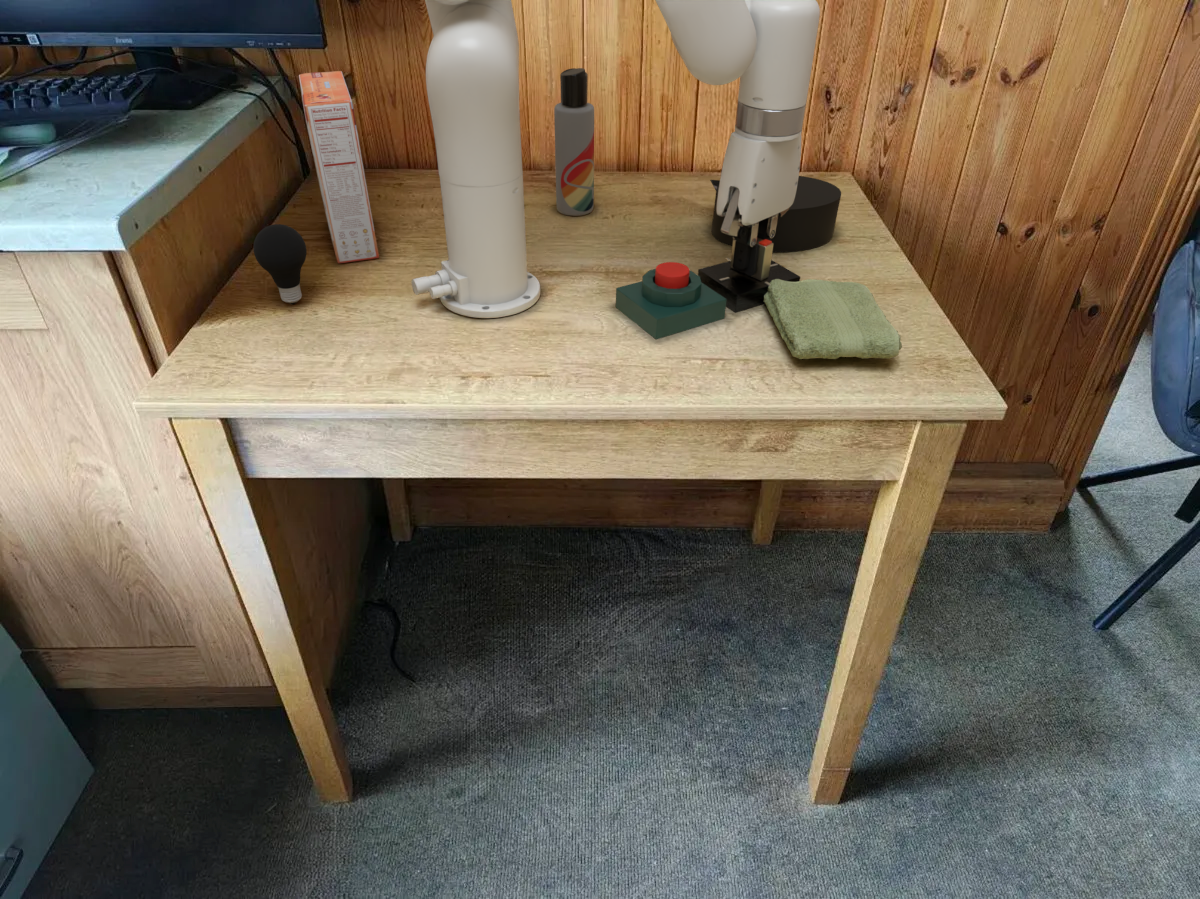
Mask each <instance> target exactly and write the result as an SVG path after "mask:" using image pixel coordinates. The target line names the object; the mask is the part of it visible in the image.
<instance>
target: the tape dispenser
mask: <svg viewBox="0 0 1200 899" xmlns="http://www.w3.org/2000/svg"><path fill="white" fill-rule="evenodd" d="M709 181H710V183H711V184H712V186H713V188H714V190H715V197H714V205H713V214H712V222H711V231H710V232H711V235H712V237H713V238H714V239H715V240H716V241H718V242H720V243H722V244H724V245H726V246H728V247H732V245H733V236H731V235H728V234H725V233H723V232H721V227H722V224H723V221H724V218H725V216H719V215H717V211H716V207H717V197H718V190H719V183H720V179H709ZM841 197H842V191H841V189H840V188H839V187H838V186H837V185H835V184H833V183H831V182H828V181H825V180H822V179H818V178H814V177H809V176H804V175H799V178H798V185H797V190H796V195H795V199H794V202H793V204H792V205H791V206H790V208H789V210H788V211H787V212H786V213H785V214H784V215H783V216H782V217H781V218H780V220H779V222H778V223H777V226H776V233H775V235H774V237H773V238H769V239H771V241H772V243H773V251H772V253H793V252H795V253H797V252H802V251H808V250H812V249H817V248H820V247H822V246H824V245H826V244H828V243H829V242H831V241H832V239H833V237H834V232H835V228H836V227H835V226H836V221H837V216H838V213H839V209H840V208H839V207H840V202H841V199H842V198H841ZM743 227H745V228H746V229H747V230H749V226H745V225H743Z"/></svg>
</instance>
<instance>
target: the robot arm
mask: <svg viewBox="0 0 1200 899" xmlns="http://www.w3.org/2000/svg"><path fill="white" fill-rule="evenodd" d="M654 1H655V3H656V5H657V7H658V9H659V11H660V13H661V15H662V17H663V19H664V21H665V23H666V26H667V28H668V30H669V32H670V37H671V40H672V43H673V46H674V48H675V50H676V51H677V53H678V55H679V57H680V58H681V59H682V61H683V63H684V65H685V67H686V69H687V71H688V72H689V73H690V75H692V76H693V77H694V78H695V79H697V80H698V81H700V83H701V82H702V83H704V84H706V85H711V86H723V85H728V84H730V83H732V82H735V81H737V80H738V79H739V85H738V95H737V104H736V111H735V121H734V122H735V123H734V131H732V132H731V133H730V136H729V139H728V142H727V145H726V150H725V153H724V157H723V161H722V168H721V172H720V179H719V180H720V183H719V190H718V197H717V207H716V211H717V215H719V216H725V218H724V221H723V224H722V227H721V232H723V233H725V234H728V235H731V236H733V240H735V241H736V242H735V250H734V258H733V268H734V269H735V270H737V271H739V272H742V273H744V274H747V275H749V276H752V275H754V274H755V272H756V265H757V258H758V250H759V245H756V241H757V237H758V238H760V239H763V240H764V239H767V240H770V241H771V239H769V238H773V237H774V235H775V233H776V226H777V223H778V222H779V220H780V218H781V217H782V216H783V215H784V214H785V213H786V212H787V211H788V210H789V208H790V206H791V205H792V204H793V202H794V199H795V195H796V190H797V185H798V178H799V176H800V169H801V159H802V158H801V156H802V134H803V133H802V132H803V127H804V121H805V115H806V108H807V102H808V95H809V87H810V82H811V76H812V69H813V62H814V56H815V50H816V43H817V38H818V29H819V24H820V17H821V16H820V15H821V9H820V5H819V3H818V1H817V0H654ZM424 2H425V6H426V11H427V15H428V18H429V22H430V28H431V32H432V35H433V36H432V40H431V42H430V44H429V47H428V50H427V54H426V60H425V61H426V62H425V85H426V94H427V101H428V106H429V112H430V118H431V123H432V130H433V136H434V143H435V153H436V161H437V170H438V171H437V172H438V176H439V184H440V194H441V203H442V213H443V221H444V231H445V240H446V249H447V259H448V260H442V261H440V264H441V269H440V270H437V271H435V273H434V274H431V275H424V276H420V277H416V278H412V279H411V288H412V291H413V293H414V295H415V296H418V295H422V294H426V293H429V295H430V297H431V299H432V300H436V299H438V298H439V301H440V302H441V304H442V306H444V307H445V308H446V309H448V310H449V311H451V312H453V313H455V314H458V315H460V316H465V317H468V318H476V319H497V318H504V317H509V316H513V315H516V314H519V313H522V312H524V311H526V310H527V309H529V308H531V307H533V306H534V305H535V304H536V303H537V302H538V300H539V299H540V296H541V283H540V280H539V279H538V278H537V277H536V276H535V275H534V274H532V273H530V272H529V271H528V259H527V257H528V256H527V232H526V213H525V212H526V211H525V192H524V191H525V190H524V171H523V154H522V134H521V133H522V132H521V114H520V112H521V111H520V43H519V42H520V41H519V35H518V29H517V25H516V24H517V23H516V19H515V14H514V13H515V12H514V9H513V2H512V0H424ZM743 225H745V226H749V230H747V229H746V228H745V227H743Z"/></svg>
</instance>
